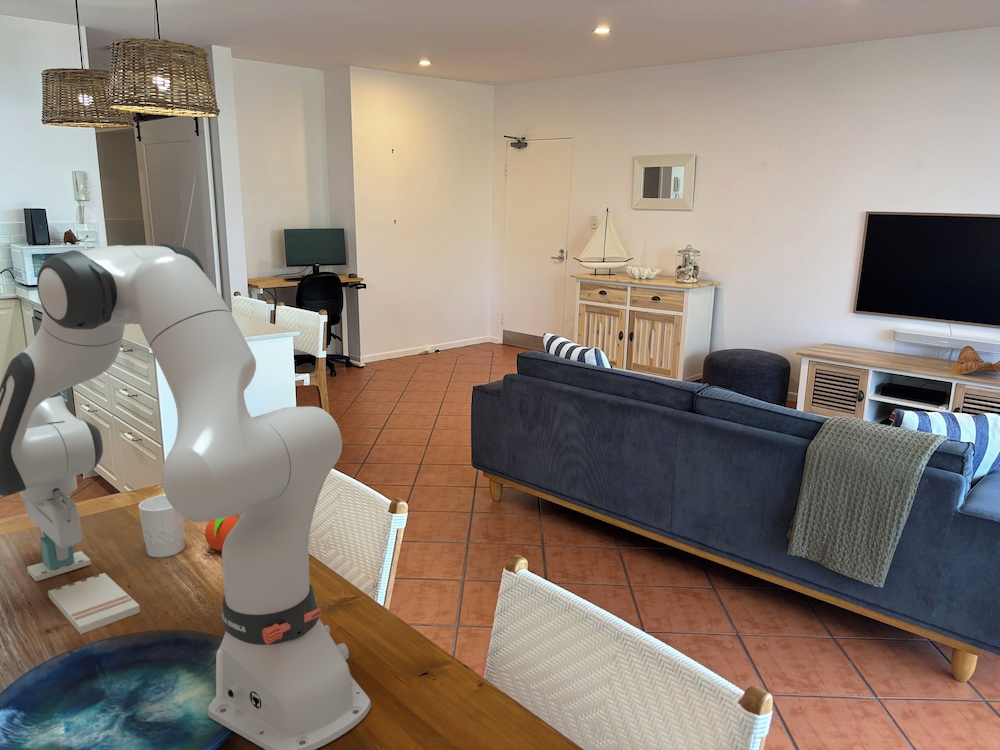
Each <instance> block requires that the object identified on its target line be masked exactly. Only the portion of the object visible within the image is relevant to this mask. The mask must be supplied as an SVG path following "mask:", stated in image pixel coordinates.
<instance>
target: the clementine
mask: <svg viewBox="0 0 1000 750" xmlns="http://www.w3.org/2000/svg"><path fill="white" fill-rule="evenodd" d="M238 520H239V519H238V518H237V517H235V516H229V517H225V518H220V519H215V520H209V522H208V523H207V525H206V527H205V531H204V536H205V541H206V543H207V544H208V545H209V546H210V547H211V548H212V549H214V550H217V551H221V552H222V548H223V544H224V541H225V539H226V537H227V535H228V534H229V532H230V531H231V529H232V528H233V527H234V526H235V524H236V523H237V521H238Z"/></svg>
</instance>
